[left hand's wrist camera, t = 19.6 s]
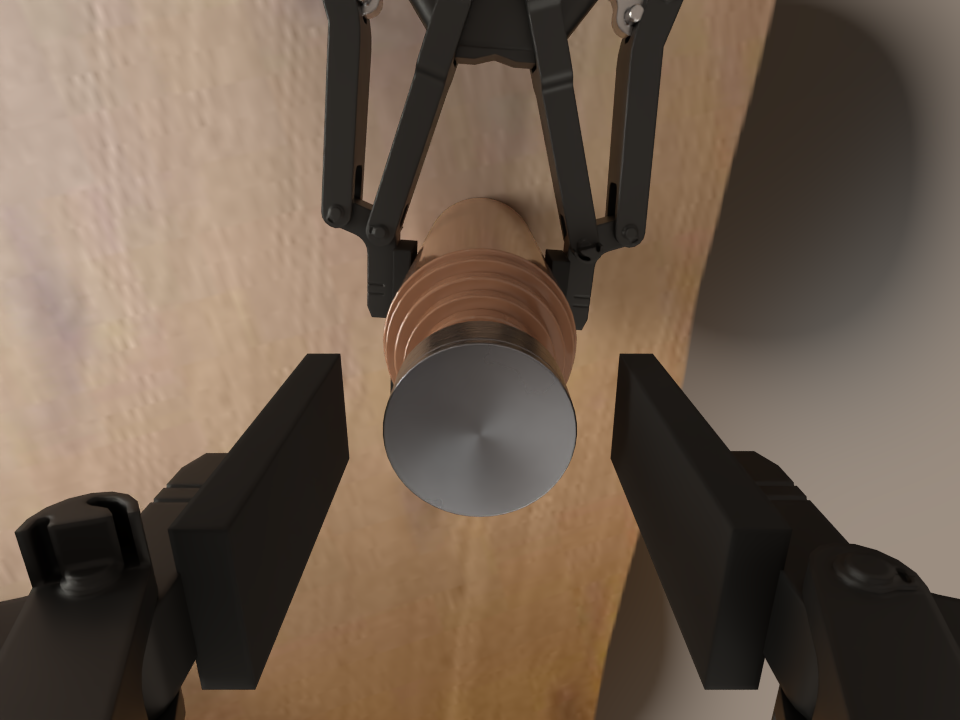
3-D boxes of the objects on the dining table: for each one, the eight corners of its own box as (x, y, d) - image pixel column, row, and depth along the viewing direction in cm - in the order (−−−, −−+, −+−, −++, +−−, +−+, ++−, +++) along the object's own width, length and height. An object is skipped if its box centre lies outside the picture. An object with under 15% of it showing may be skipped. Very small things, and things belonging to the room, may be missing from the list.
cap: (524, 500, 15) (528, 541, 14) (369, 445, 15) (356, 481, 13) (596, 359, 14) (610, 386, 12) (429, 292, 13) (423, 312, 12)
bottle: (494, 174, 31) (519, 236, 12) (554, 267, 33) (660, 453, 14) (404, 238, 32) (291, 390, 13) (466, 324, 34) (447, 572, 15)
